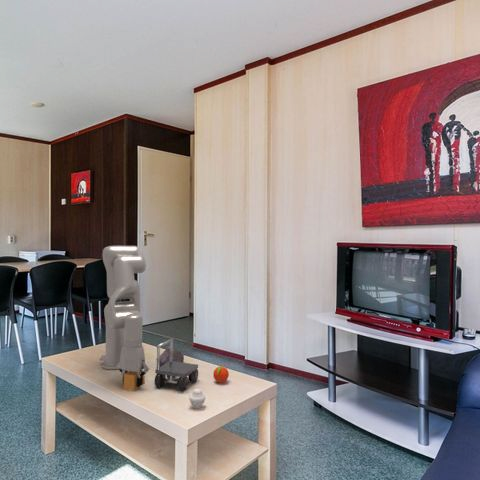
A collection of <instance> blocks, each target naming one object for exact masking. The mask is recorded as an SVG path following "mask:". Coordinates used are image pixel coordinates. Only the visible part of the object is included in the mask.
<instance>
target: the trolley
mask: <svg viewBox="0 0 480 480" xmlns="http://www.w3.org/2000/svg"><path fill="white" fill-rule="evenodd" d="M173 343H174V338H170V339H167V340H166V341H163V342H161V343H160V344H157V345H156V359H157V360H156V369H155V372H154V373H155V376H154V382H153V383H154V386H155V387H156V388H163V387H164V385H165V383H167V384H168V383H169V384H176V386H177V387H176V388H177V390H178V391H181V392H185V391H186V390H187V388H188V385H189V383H193V384H195V383H196V382H197V381H198V378H199V370H198V368H199V364H194V363H188V362H183V363H182V362H175V361H172V353H173V346H174V344H173ZM167 344H169V346H170V362H168V363H166V364H165V365H163V366H161V367H160V356H161V348H162V347H163V346H165V345H167ZM176 378H178V379H177V380H175V379H176Z"/></svg>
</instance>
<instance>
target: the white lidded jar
mask: <svg viewBox="0 0 480 480" xmlns="http://www.w3.org/2000/svg"><path fill="white" fill-rule="evenodd" d="M188 399H189V401H190V404H191V407H192V408H193V409H196V410H198V409H201V408H202V406H203V405H204V403H205V400H206V396H205V394H204V393H203V390H202V389H200V388H194V389H193V391H192V392H191V394H190V395H189V398H188Z"/></svg>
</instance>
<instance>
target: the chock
mask: <svg viewBox="0 0 480 480" xmlns="http://www.w3.org/2000/svg"><path fill="white" fill-rule="evenodd" d="M137 378H138V375H137V372H131V371H128V372H126V373H125V374H124V385H123V389H124V390H127V389H128V390H129V391H135V390H138V389H139V388H140V387H142V386H144V385H145V380H146V379H145V375H144V376H143V384H142V385H141V386H140V387H137Z"/></svg>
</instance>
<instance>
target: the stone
mask: <svg viewBox="0 0 480 480" xmlns="http://www.w3.org/2000/svg"><path fill="white" fill-rule="evenodd" d="M184 355H185V354H183V352H182V350H177V349H176V347H175V346H174V345H173V353H172V361H175V362H182V363H184V362H185V361H184V360H185V359H184V358H185V356H184ZM156 361H157V358H156ZM168 362H170V345H168V347H166V348H165V350H164V351H163V352H162V353H160V367H161V366H163V365H165V364H166V363H168Z"/></svg>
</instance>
